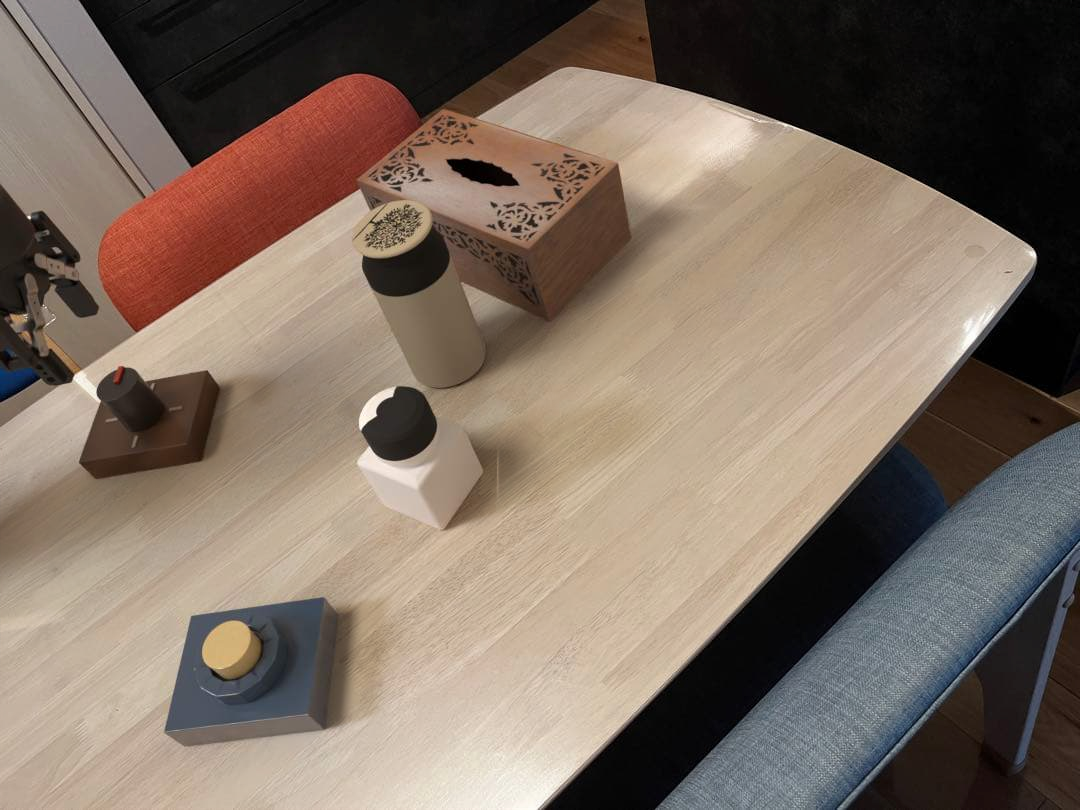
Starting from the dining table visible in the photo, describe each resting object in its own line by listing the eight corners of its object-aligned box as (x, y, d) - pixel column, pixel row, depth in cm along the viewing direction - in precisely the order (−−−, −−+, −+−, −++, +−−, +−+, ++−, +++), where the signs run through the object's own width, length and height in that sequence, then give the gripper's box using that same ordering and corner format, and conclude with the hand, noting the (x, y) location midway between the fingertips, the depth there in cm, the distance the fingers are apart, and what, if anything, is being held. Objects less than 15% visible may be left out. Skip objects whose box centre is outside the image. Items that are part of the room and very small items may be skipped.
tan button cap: (209, 682, 71) (196, 671, 70) (219, 634, 74) (207, 623, 72) (257, 676, 71) (245, 665, 69) (266, 628, 73) (254, 617, 72)
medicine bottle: (485, 471, 84) (448, 388, 75) (443, 533, 81) (399, 454, 72) (425, 448, 88) (382, 366, 79) (382, 506, 84) (332, 428, 75)
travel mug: (502, 348, 94) (452, 211, 80) (451, 401, 91) (390, 267, 77) (448, 322, 98) (391, 188, 85) (397, 372, 95) (330, 240, 81)
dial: (158, 427, 93) (130, 394, 89) (119, 434, 94) (89, 402, 90) (168, 395, 96) (140, 361, 92) (129, 402, 96) (100, 369, 92)
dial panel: (95, 479, 95) (77, 461, 92) (120, 405, 101) (104, 387, 99) (201, 461, 93) (186, 443, 91) (220, 387, 99) (206, 368, 97)
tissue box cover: (386, 247, 109) (356, 180, 101) (466, 177, 114) (443, 108, 107) (549, 321, 95) (528, 249, 87) (631, 237, 100) (618, 162, 93)
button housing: (184, 747, 73) (150, 724, 69) (209, 631, 80) (179, 605, 76) (325, 730, 71) (298, 706, 68) (338, 613, 78) (315, 586, 74)
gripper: (-55, 163, 76) (62, 301, 88) (-127, 277, 67) (15, 413, 79) (26, 144, 75) (133, 286, 87) (-35, 257, 66) (94, 398, 78)
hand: (77, 346), depth 83 cm, fingers open, 8 cm apart
